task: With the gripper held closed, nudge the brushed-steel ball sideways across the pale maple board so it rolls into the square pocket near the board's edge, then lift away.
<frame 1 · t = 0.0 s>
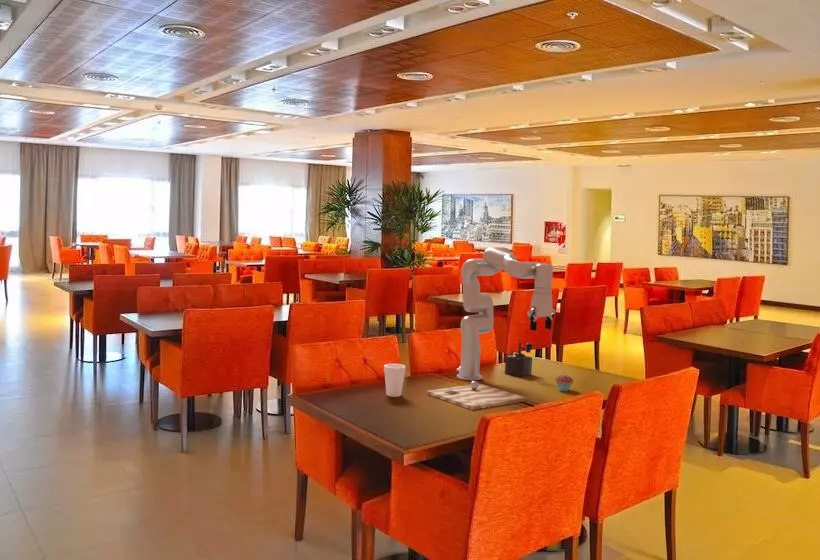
hand: (540, 329, 315), 31 cm above the table, fingers open, 9 cm apart
coffee grinder: (521, 375, 366), on the table
cupcake: (563, 390, 336), on the table
steel ball: (474, 385, 322), point 3 cm above the table, touching maple board
maple board: (476, 397, 314), on the table
foam cup: (393, 395, 312), on the table
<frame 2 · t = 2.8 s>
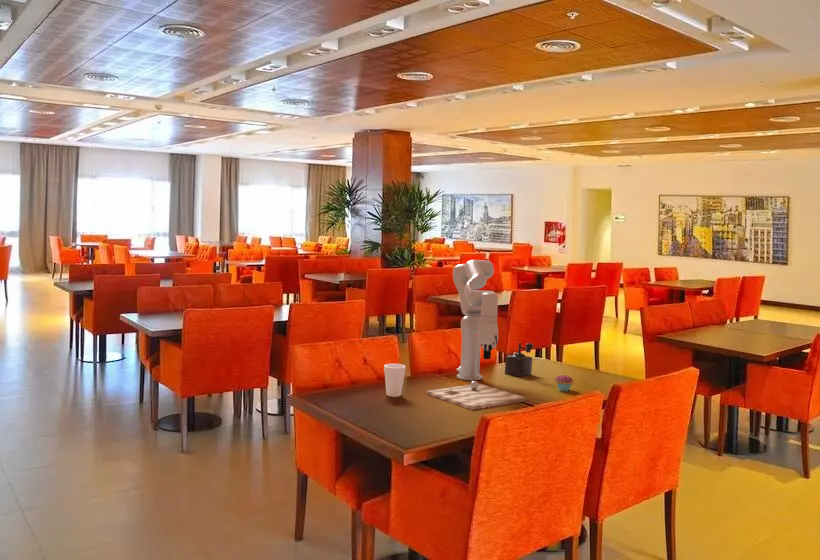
hand: (486, 358, 325), 15 cm above the table, fingers closed
nothing on the table moved.
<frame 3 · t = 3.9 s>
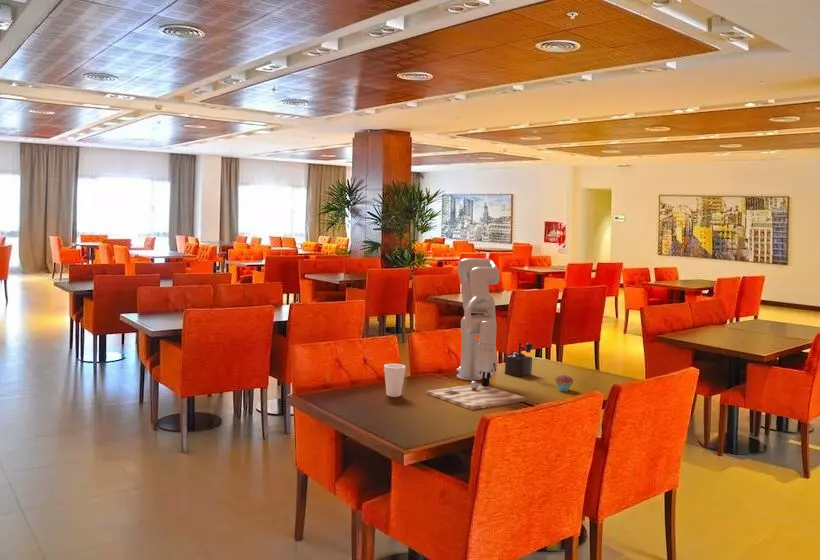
hand: (485, 386, 326), 2 cm above the table, fingers closed
nothing on the table moved.
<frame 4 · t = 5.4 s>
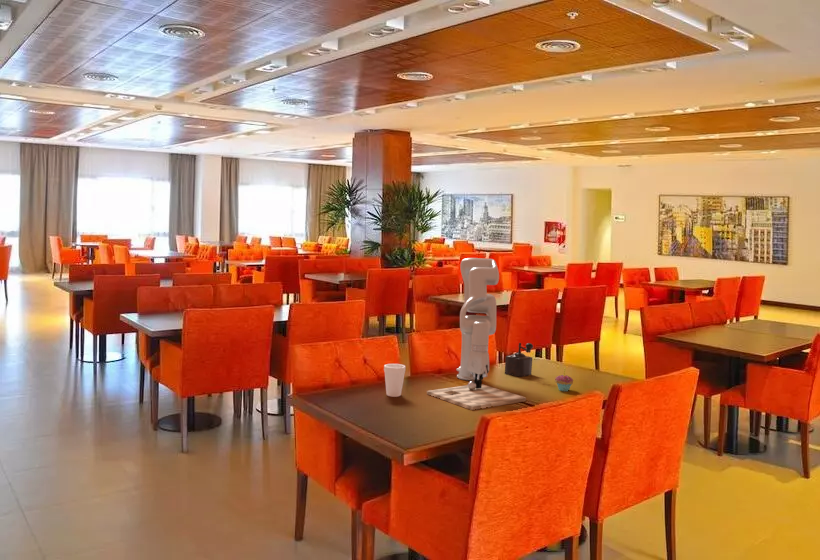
hand: (477, 387, 324), 2 cm above the table, fingers closed
steel ball: (471, 385, 321), point 3 cm above the table, tilted 39°, touching maple board
everything else where it was.
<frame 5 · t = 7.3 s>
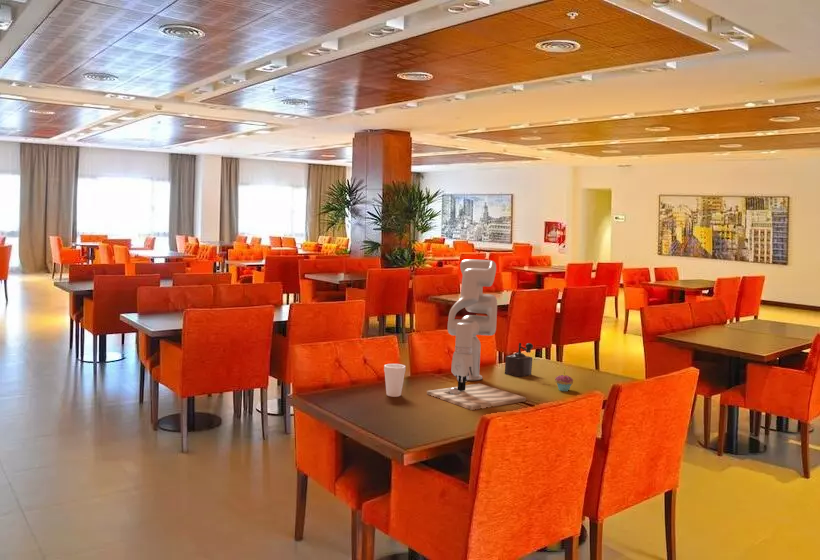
hand: (461, 390, 318), 2 cm above the table, fingers closed
steel ball: (453, 392, 314), point 2 cm above the table, tilted 23°
everything else where it was.
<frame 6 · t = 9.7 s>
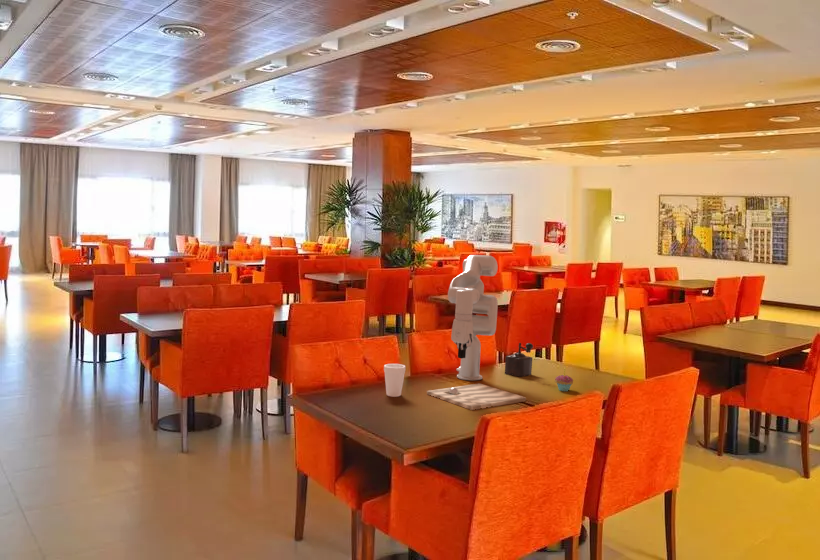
hand: (461, 357, 316), 17 cm above the table, fingers closed
steel ball: (453, 392, 314), point 2 cm above the table, tilted 30°
everything else where it was.
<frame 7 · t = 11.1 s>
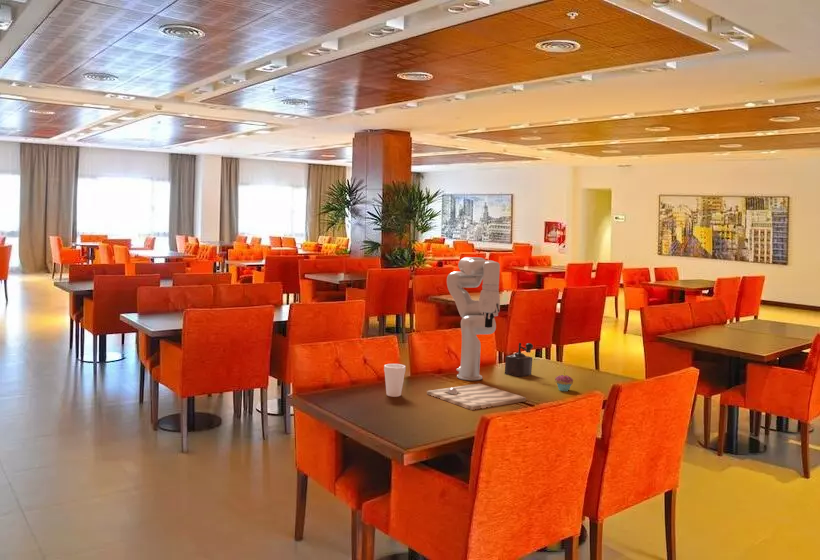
hand: (488, 327, 330), 29 cm above the table, fingers closed
steel ball: (452, 392, 313), point 2 cm above the table, tilted 50°
everything else where it was.
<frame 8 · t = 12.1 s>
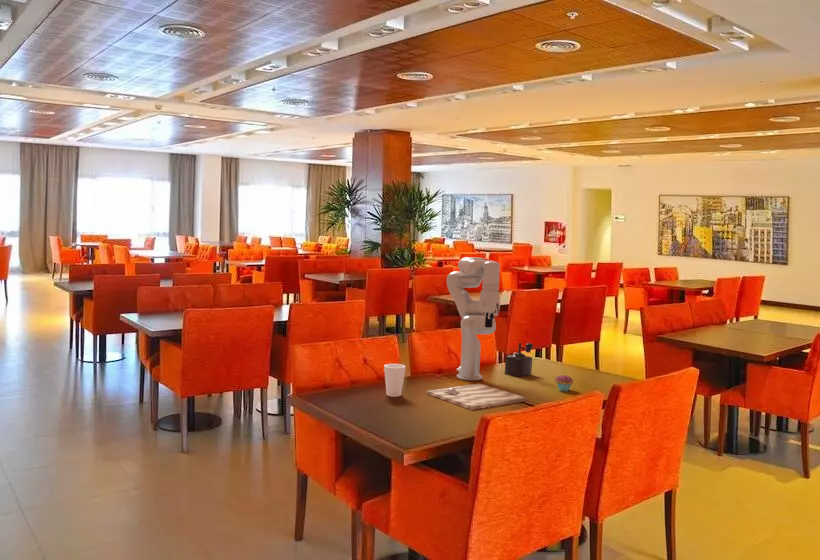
hand: (488, 327, 330), 29 cm above the table, fingers closed
steel ball: (452, 392, 313), point 2 cm above the table, tilted 59°
everything else where it was.
at the end: steel ball 1.4 cm from the target spot on the maple board, point 2.0 cm above the maple board's base; the gripper is holding nothing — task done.
